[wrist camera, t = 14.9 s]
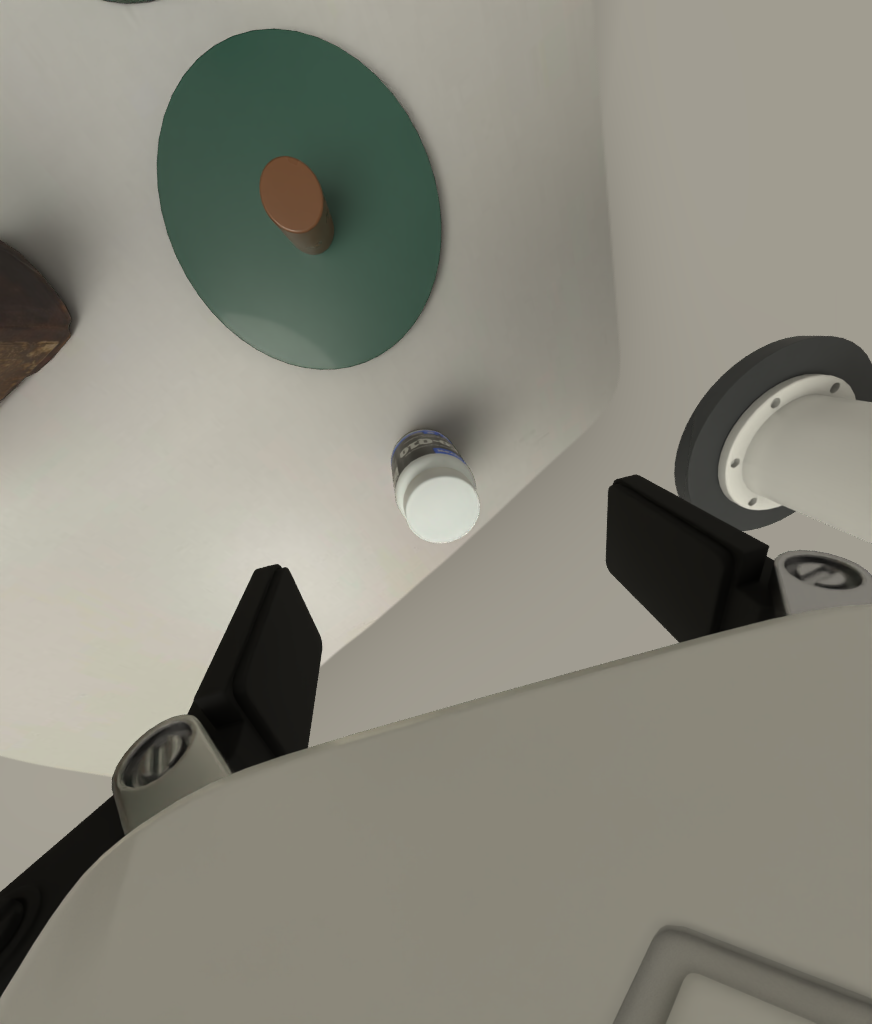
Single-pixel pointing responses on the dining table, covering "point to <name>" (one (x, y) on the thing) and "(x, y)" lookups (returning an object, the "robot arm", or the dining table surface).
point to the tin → (129, 1)
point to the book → (27, 320)
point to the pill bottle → (434, 487)
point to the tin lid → (299, 199)
